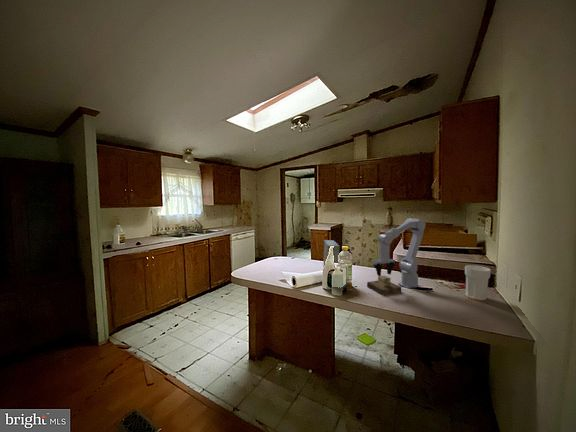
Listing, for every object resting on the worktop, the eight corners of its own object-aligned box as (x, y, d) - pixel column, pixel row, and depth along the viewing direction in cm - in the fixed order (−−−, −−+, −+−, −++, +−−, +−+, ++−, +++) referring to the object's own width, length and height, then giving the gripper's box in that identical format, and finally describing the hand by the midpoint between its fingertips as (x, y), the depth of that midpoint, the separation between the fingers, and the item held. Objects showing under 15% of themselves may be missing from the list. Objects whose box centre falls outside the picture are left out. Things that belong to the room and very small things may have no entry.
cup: (458, 295, 135) (460, 266, 133) (470, 292, 139) (472, 264, 138) (480, 303, 124) (482, 272, 123) (493, 299, 129) (495, 269, 127)
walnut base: (384, 283, 154) (384, 279, 153) (401, 292, 140) (401, 287, 140) (367, 286, 149) (367, 282, 149) (382, 295, 136) (382, 290, 136)
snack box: (339, 283, 156) (340, 245, 154) (326, 283, 156) (327, 245, 154) (334, 272, 177) (334, 239, 175) (322, 272, 178) (322, 239, 176)
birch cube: (384, 282, 147) (384, 275, 147) (390, 285, 143) (390, 277, 142) (377, 283, 146) (378, 276, 146) (383, 286, 141) (383, 278, 141)
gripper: (379, 256, 137) (378, 278, 138) (398, 253, 141) (398, 275, 142) (371, 253, 144) (371, 274, 145) (390, 251, 148) (389, 272, 149)
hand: (384, 274), depth 144 cm, fingers open, 7 cm apart
